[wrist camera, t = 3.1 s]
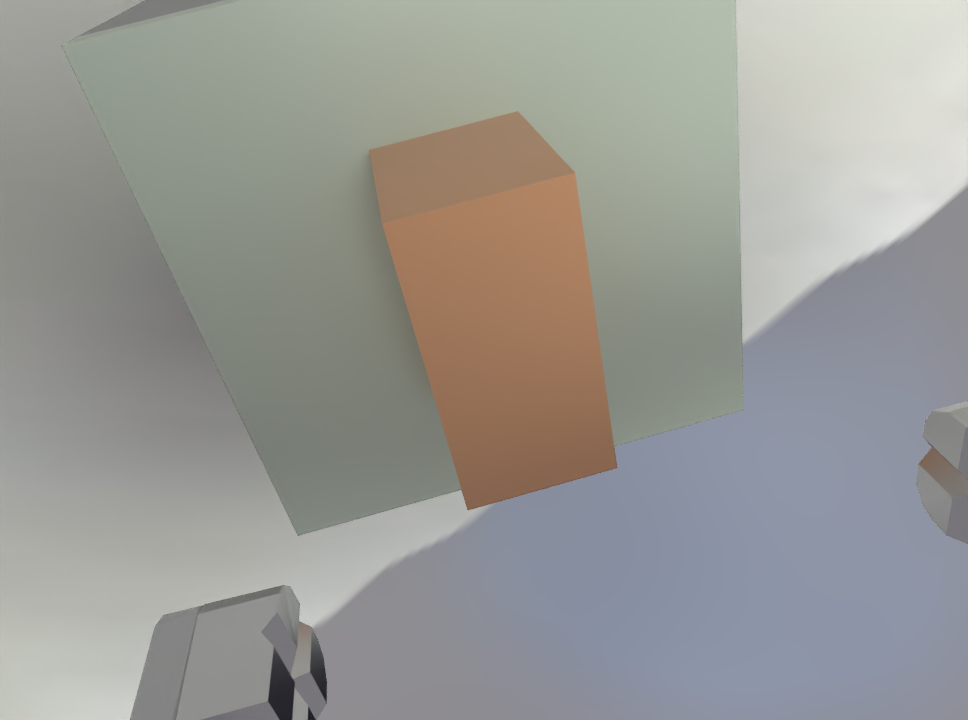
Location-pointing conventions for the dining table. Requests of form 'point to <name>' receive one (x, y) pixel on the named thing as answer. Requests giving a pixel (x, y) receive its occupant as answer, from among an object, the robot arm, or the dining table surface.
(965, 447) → the robot arm
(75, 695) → the dining table surface
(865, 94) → the dining table surface
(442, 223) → the lid
